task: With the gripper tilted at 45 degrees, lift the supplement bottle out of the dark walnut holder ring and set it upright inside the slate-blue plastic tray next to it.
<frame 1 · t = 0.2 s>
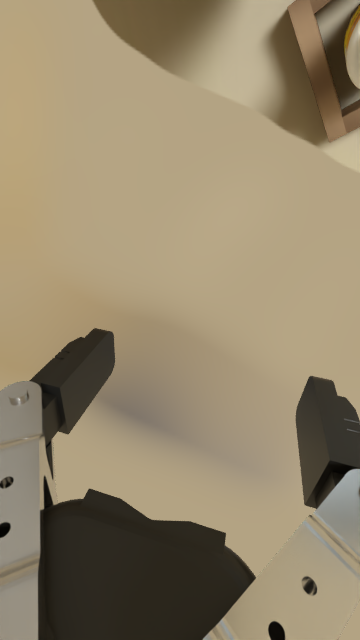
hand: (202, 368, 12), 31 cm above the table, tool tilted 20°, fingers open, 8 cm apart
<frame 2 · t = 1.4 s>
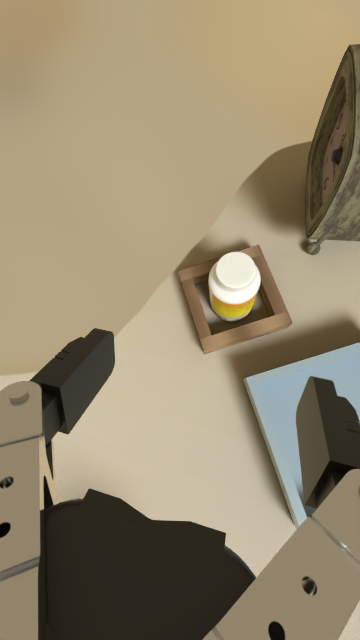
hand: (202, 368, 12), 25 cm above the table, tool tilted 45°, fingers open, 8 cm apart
holder: (231, 302, 39), on the table
tray: (334, 427, 33), on the table
supplement bottle: (231, 302, 39), resting in holder
tabletop clock: (332, 218, 40), on the table
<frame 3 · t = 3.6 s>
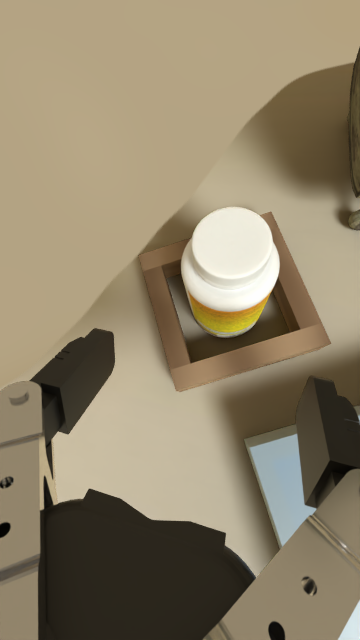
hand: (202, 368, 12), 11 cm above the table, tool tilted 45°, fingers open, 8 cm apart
holder: (225, 306, 24), on the table
supplement bottle: (225, 306, 24), resting in holder
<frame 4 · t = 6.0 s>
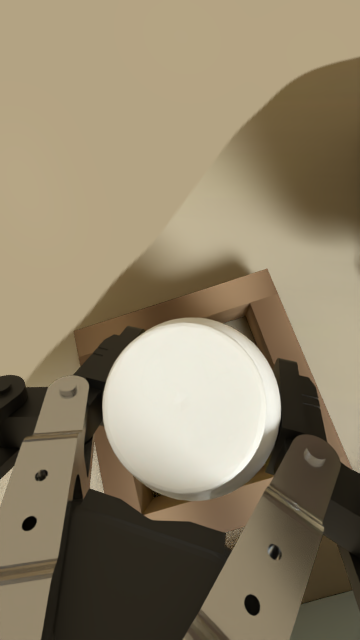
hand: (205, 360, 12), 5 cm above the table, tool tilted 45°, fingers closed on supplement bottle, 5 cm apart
holder: (202, 401, 17), on the table
supplement bottle: (202, 401, 17), resting in holder, touching gripper
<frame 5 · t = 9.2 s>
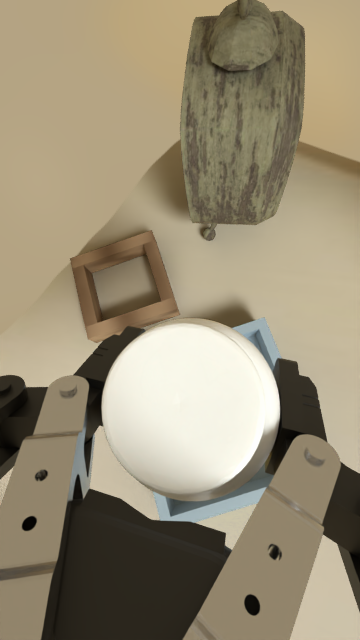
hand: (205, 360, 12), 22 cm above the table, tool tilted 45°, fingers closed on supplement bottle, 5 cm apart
holder: (127, 289, 38), on the table
tray: (217, 415, 33), on the table
supplement bottle: (202, 401, 17), point 17 cm above the table, touching gripper
tabletop clock: (233, 204, 39), on the table
when the fingers open (7 cm above the table, at t = 12.8 s): supplement bottle drops 1 cm, resting on tray.
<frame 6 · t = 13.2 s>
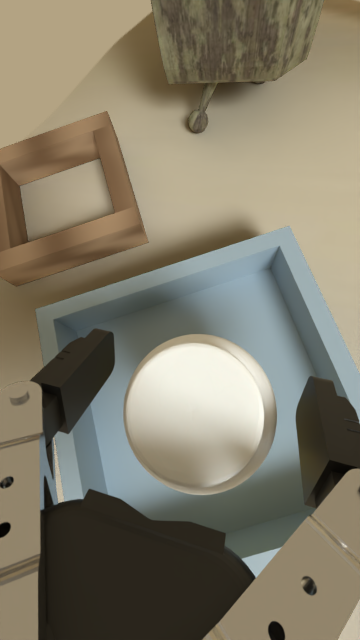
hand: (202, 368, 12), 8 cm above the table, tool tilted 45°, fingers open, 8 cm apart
holder: (69, 207, 24), on the table
tray: (203, 401, 19), on the table
supplement bottle: (205, 405, 18), point 1 cm above the table, touching tray
tabletop clock: (236, 85, 26), on the table
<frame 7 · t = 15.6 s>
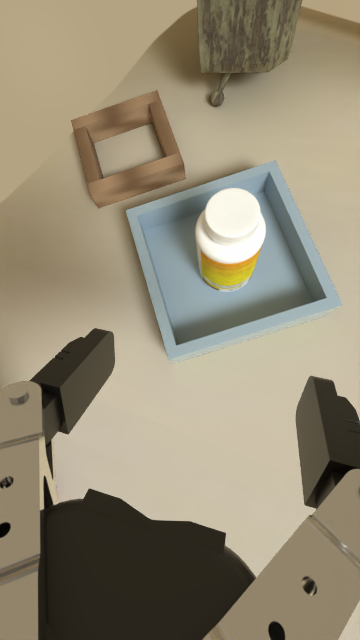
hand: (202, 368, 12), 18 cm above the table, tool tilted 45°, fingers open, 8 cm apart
holder: (130, 157, 36), on the table
tray: (223, 270, 32), on the table
supplement bottle: (225, 269, 31), point 1 cm above the table, touching tray
tabletop clock: (242, 73, 38), on the table
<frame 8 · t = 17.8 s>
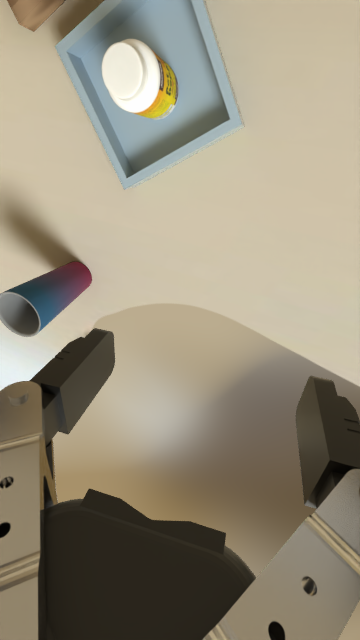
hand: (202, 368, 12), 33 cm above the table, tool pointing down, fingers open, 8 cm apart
cup: (79, 274, 52), on the table
tray: (158, 91, 35), on the table
supplement bottle: (158, 92, 35), point 1 cm above the table, touching tray
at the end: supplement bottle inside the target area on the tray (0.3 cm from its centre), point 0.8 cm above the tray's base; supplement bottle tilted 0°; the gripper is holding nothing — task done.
